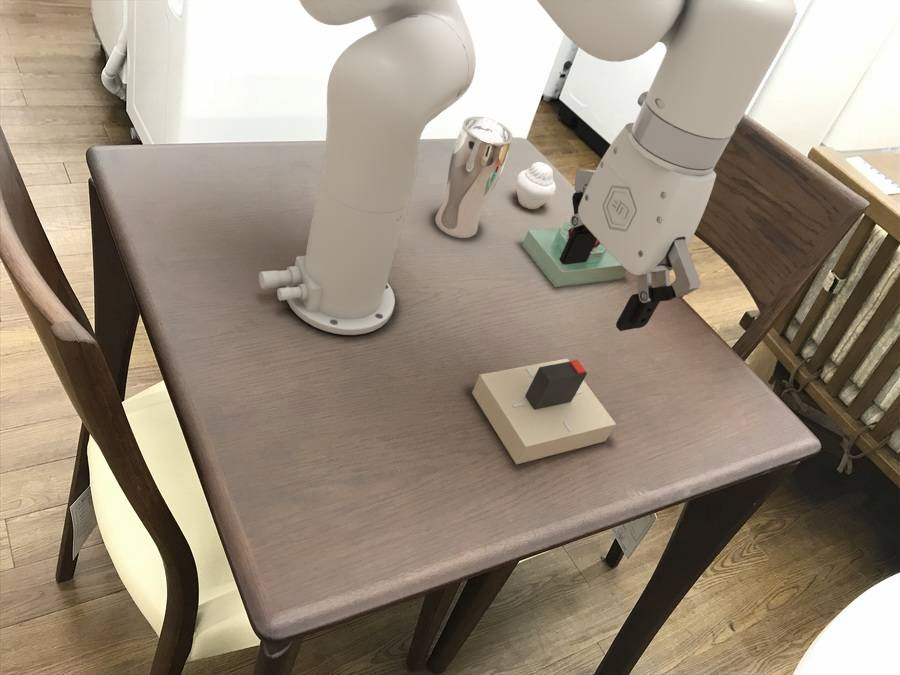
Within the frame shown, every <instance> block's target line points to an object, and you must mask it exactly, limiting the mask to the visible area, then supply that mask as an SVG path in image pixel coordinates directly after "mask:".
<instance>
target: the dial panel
mask: <svg viewBox="0 0 900 675" xmlns="http://www.w3.org/2000/svg"><path fill="white" fill-rule="evenodd" d="M570 361H571V360H570V359H568V358H563V359H557V360H552V361H545V362H540V363H535V364H529V365H525V366H524V365H523V366H519V367H514V368H508V369H502V370H498V371H491V372H486V373H481V374H479V376H478V378H477V380H476V382H475V385H474V387H473V389H472V392H471V394H472V396H473V397H474V399H475V401H476V402H477V404H478V406H479V407H480V409H481V411H482V412H483V413H484V415H485V417H486V419H487V420H488V421H489V424H490V425H491V427H492V428H493V430H494V431H495V433H496V434H497V436H498V438H499V439H500V441H501V443H502V444H503V446H504V448H505V449H506V450H507V452H508V454H509V455H510V457H511V459H512V461H513V463H514V464H515V465H520V464H524V463H528V462H531V461H536V460H539V459H543V458H546V457H551V456H554V455H559V454H562V453H566V452H570V451H575V450H577V449H581V448H584V447H585V448H586V447H589V446H593V445H597V444H601V443H603V442H606V441H607V439H608V438H609V436H610V435H611V433H612V431H613V430H614V429H615V427H616V426H617V423H616V422H615V421H614V419H613V418H612V416H611V415H610V414H609V413H608V411H607V410H606V408H605V407H604V405H603V404H602V403H601V402H600V400H599V399H598V398H597V396H596V395H595V394H594V392H593V391H592V389H591V388H590V386H588V384H587V383H586V381H585V379H584V380H583V382H582V384H581V385H580V387H579V389H578V391H577V392H576V394H575V396H574V398H573V400H572V401H571V402H567V403H563V404H558V405H554V406H549V407H545V408H540V409H536V410H534V409H533V407H532V406H531V404H530V403H529V401H528V400H527V398H526V397H525V395H526V393H527V391H528V389H529V387H530V385H531V383H532V381H533V379H534V377H535V375H536V373H537V371H538V369H539V367H543V366H548V365H554V364H559V363H564V362H570Z"/></svg>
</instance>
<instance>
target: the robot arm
mask: <svg viewBox="0 0 900 675" xmlns="http://www.w3.org/2000/svg"><path fill="white" fill-rule="evenodd" d="M298 1H299V3H300V5H301V6H302V8H303V9H304V11H305V12H306V13H307V14H308V15H309V16H310V17H312V18H313V19H314V20H315V21H317V22H319V23H321V24H324V25H327V26H342V25H349V24H351V23H355V22H358V21H360V20H363V19H365V18H368V17H370V19H371V21H372V23H373V25H374V28H375V30H373V31H371V32H369V33H367V34H365V35H364V36H361V37H360V38H358V39H357V40H355V41H353V42H351V44H349V45H348V46H347V47H346V48H345V49H344V50H343V51H342V53H341V54H340V55H339V56H338V57H337V58H336V60H335V62H334V64H333V65H332V68H331V70H330V72H329V76H328V80H327V86H326V135H325V141H324V142H325V144H324V150H323V156H322V161H321V162H322V163H321V169H320V174H319V181H318V186H317V191H316V196H315V202H314V208H313V213H312V219H311V224H310V230H309V233H308V240H307V245H306V250H305V255H298V256H296V257H295V263H294V265H291V266H287V267H286V269H285V270H276V269H275V270H264V271H263V270H262V271H259V273H258V282H259V286H260V288H261V290H267V289H276V295H277V299H278V301H280V302H281V301H287V303H288V305H289V307H290V309H291V310H292V311H293V312H294V313H295V315H297V316H298V317H299V318H300V319H301V320H303V321H304V322H305V323H307V324H308V325H311V326H312V327H314V328H316V329H319V330H321V331H324V332H327V333H332V334H335V335H343V336H357V335H364V334H368V333H371V332H375V331H376V330H378V329H380V328H382V327H383V326H385V324H387V323H388V321H389V320H390V318H391V317H392V314H393V312H394V309H395V303H396V299H395V298H396V297H395V294H394V291H393V288H392V287H391V285H390V284H389V282H388V280H389V277H390V273H391V270H392V266H393V263H394V259H395V255H396V253H397V248H398V245H399V241H400V238H401V233H402V230H403V227H404V223H405V220H406V218H407V217H406V216H407V213H408V209H409V206H410V202H411V198H412V195H413V190H414V187H415V184H416V180H417V175H418V168H419V148H420V140H421V137H422V134H423V132H424V130H425V128H426V126H427V125H428V124H429V123H430V122H431V121H433V120H434V119H436V118H437V117H438V116H439V115H440V114H441V113H443V112H444V111H446V110H447V109H448V108H450V107H451V106H453V104H455V103H457V102H458V101H459V100H460V99H462V97H463V96H464V95H465V94H466V93H467V91H468V90H469V88H470V87H471V84H472V82H473V79H474V77H475V72H476V65H477V64H476V61H477V60H476V53H475V47H474V43H473V38H472V36H471V33H470V30H469V27H468V24H467V22H466V20H465V17H464V14H463V12H462V9H461V8H460V5H459V2H458V0H298ZM536 1H537V3H538V4H539V5H540V7H541V8H542V9H543V10H544V11H545V13H546V14H547V15H548V16H549V18H551V20H552V21H553V22H554V23H555V25H556V26H557V27H558V28H559V29H560V31H561V32H562V33H563V34H564V35H565V36H566V37H567V38H568V39H569V40H570V41H571V42H572V43H573V44H574V45H576V47H578V48H579V49H581V50H582V51H583V52H585V53H586V54H588V55H590V56H591V57H593V58H595V59H598V60H601V61H605V62H611V63H612V62H613V63H614V62H625V61H630V60H633V59H637V58H638V57H640V56H643V55H644V54H646V53H647V52H648V51H650V50H651V49H652V48H653V47H655V46H656V45H657V44H658V43H662V44H663V45H664V46H665V50H666V51H665V54H664V57H663V59H662V61H661V62H660V65H659V67H658V70H657V72H656V74H655V76H654V78H653V81H652V83H651V84H650V87H649V89H648V90H647V91H643V92H642V93H641V94H640V95H639V97H637V104H638V106H639V107H640V110H639V111H638V114H637V116H636V118H635V120H634V122H629V123H626V124H625V126H623V128H622V129H621V130H620V132H619V133H618V134H617V135H616V137H615V138H614V140H612V142H611V144H610V145H609V147H608V148H607V150H606V152H605V153H604V154H603V156H602V158H601V160H600V162H599V163H598V165H597V167H596V169H595V170H594V169H577V170H576V172H575V176H574V191H575V192H574V193H573V194H572V197H571V202H572V209H573V215H572V216H571V218H570V222H571V225H572V226H573V227H574V228H573V229H572V232H571V234H570V236H569V239H568V241H567V243H566V245H565V248H564V250H563V252H562V254H561V257H560V259H559V260H560V262H561V263H562V264H565V265H567V264H575V263H583V262H586V261H587V260H588V258H589V256H590V254H591V251H592V249H593V247H594V245H595V243H596V241H597V240H598V241H599V242H600V243H601V244H602V245H603V246H604V247H605V248H606V249H607V250H608V251H609V253H610V254H611V255H612V256H613V257H614V258H615V259H616V260H617V261H618V262H619V263H620V264H621V265H622V266H623V267H624V268H625V269H626V272H629V273H630V274H632V275H634V276H636V279H637V293H633V294H632V295H631V296H630V297H629V299H628V301H627V302H626V304H625V306H624V308H623V309H622V312H621V314H620V316H619V317H618V319H617V321H616V323H615V327H616V328H617V330H618V331H619V332H624V331H628V330H629V331H630V330H635V329H641V328H644V327H645V326H646V325H647V324H648V323H649V322H650V320H651V318H652V316H653V314H654V312H655V311H656V309H657V308H658V306H659V304H660V303H661V302H667V301H674V300H679V299H682V298H683V297H685V296H687V295H689V294H691V293H693V292H694V291H696V290H698V289H699V288H700V287H701V280H700V277H699V275H698V271H697V269H696V267H695V264H694V262H693V258H692V256H691V253H690V251H689V249H688V247H689V245H690V244H691V241H692V239H693V237H694V235H695V233H696V231H697V229H698V227H699V224H700V222H701V220H702V217H703V215H704V213H705V210H706V208H707V205H708V203H709V199H710V197H711V194H712V191H713V188H714V184H715V182H716V178H717V173H716V172H715V170H714V169H715V167H716V165H717V164H718V162H719V160H720V158H721V156H722V155H723V153H724V151H725V149H726V147H727V146H728V144H729V142H730V141H731V139H732V138H733V135H734V133H735V131H736V130H737V127H738V126H739V124H740V123H741V120H742V119H743V117H744V115H745V113H746V111H747V109H748V107H749V106H750V104H751V102H752V100H753V98H754V97H755V95H756V92H757V91H758V89H759V87H760V86H761V84H762V82H763V80H764V79H765V76H766V75H767V73H768V71H769V69H770V68H771V66H772V65H773V62H774V61H775V59H776V57H777V55H778V53H779V52H780V49H781V48H782V47H783V44H784V43H785V41H786V39H787V38H788V36H789V34H790V32H791V29H792V27H793V25H794V23H795V20H796V16H797V15H796V14H797V6H796V4H795V2H794V0H536ZM671 271H673V272H674V273H673V274H675V275H674V276H675V279H674V281H673V282H671V276H670V273H671ZM653 273H655V274H654V275H655V287H653V282H652V281H653V280H652V279H653V278H652V274H653Z"/></svg>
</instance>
